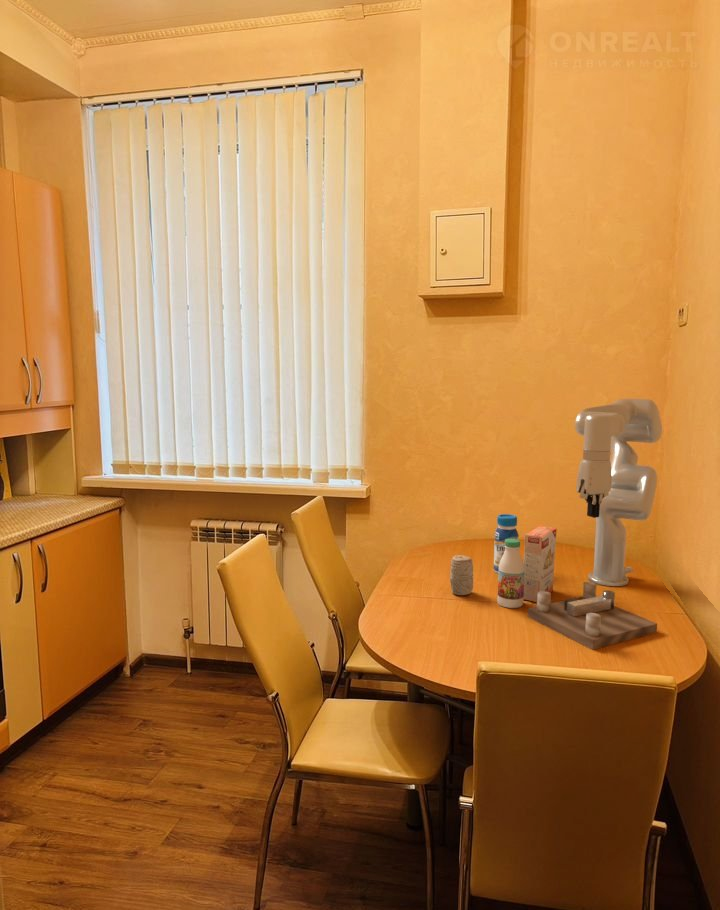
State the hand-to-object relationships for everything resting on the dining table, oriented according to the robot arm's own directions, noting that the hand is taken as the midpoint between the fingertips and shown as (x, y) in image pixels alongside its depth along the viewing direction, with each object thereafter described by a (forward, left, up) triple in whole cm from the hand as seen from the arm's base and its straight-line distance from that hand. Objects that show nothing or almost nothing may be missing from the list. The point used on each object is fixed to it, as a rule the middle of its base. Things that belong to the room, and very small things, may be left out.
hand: (593, 516), depth 187 cm
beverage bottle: (+3, -35, -27) cm, 44 cm away
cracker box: (+9, -12, -27) cm, 31 cm away
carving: (+30, -24, -27) cm, 47 cm away
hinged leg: (+9, +10, -24) cm, 28 cm away
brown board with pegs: (+12, +12, -27) cm, 32 cm away
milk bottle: (+22, -10, -27) cm, 36 cm away
